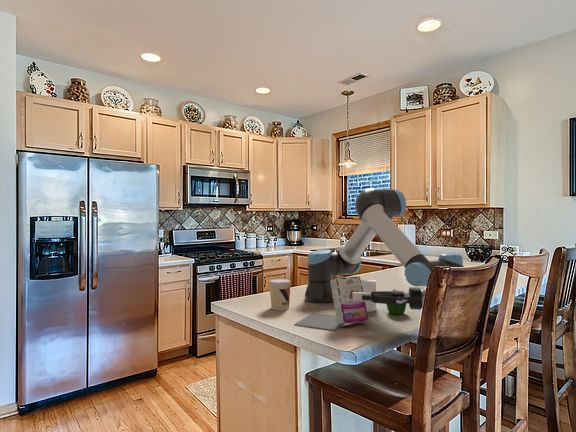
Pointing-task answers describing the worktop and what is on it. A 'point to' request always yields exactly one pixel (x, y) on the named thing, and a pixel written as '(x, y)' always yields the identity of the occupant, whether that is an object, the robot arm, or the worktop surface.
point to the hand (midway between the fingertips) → (352, 296)
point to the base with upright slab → (369, 287)
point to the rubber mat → (320, 322)
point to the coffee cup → (280, 293)
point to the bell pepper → (396, 308)
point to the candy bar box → (348, 300)
